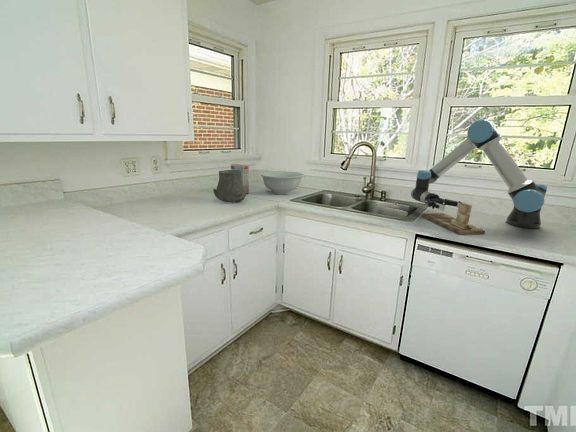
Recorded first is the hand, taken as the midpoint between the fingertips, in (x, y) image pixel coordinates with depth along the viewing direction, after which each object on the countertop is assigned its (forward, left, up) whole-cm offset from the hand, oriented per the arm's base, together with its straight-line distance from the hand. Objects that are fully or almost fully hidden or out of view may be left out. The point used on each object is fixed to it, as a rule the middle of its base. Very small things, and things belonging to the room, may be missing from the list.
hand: (455, 208), depth 154 cm
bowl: (+117, -14, -10) cm, 118 cm away
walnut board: (+1, -2, -9) cm, 10 cm away
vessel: (+128, +31, -10) cm, 132 cm away
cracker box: (+141, +7, -10) cm, 142 cm away
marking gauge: (-4, +4, -8) cm, 10 cm away
